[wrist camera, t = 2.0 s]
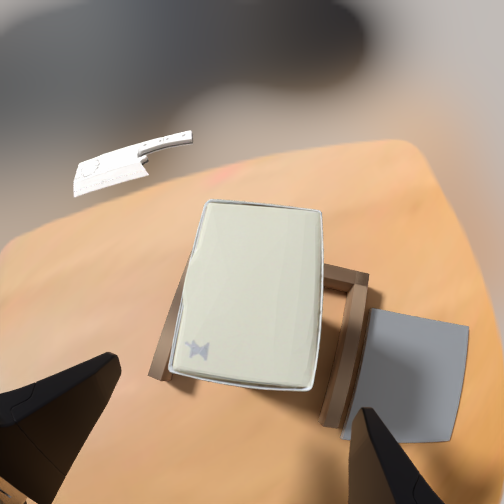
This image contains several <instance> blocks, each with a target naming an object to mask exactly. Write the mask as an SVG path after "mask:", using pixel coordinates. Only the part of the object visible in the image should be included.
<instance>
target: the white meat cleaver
mask: <svg viewBox="0 0 504 504" xmlns="http://www.w3.org/2000/svg"><path fill="white" fill-rule="evenodd" d="M191 144H193V134H192V131H186V132H182V133H178V134H173V135H169V136H165V137H161V138H157V139H154V140H150V141H146V142H143V143H141V144H140V143H139V144H135V145H132V146H128V147H125V148H122V149H119V150H115V151H113V152H110V153H107V154H104V155H101V156H98V157H95V158H93V159H90V160H87V161H84V162H82V163H79V165H78V169H77V172H76V176H75V179H74V197H77V196H80V195H83V194H86V193H89V192H93V191H95V190H99V189H102V188H106V187H109V186H112V185H116V184H119V183H122V182H126V181H130V180H133V179H137V178H141V177H144V176H148V175H149V174H148V173H147V171H146V170H145V168H144V167H143V165H144V164H145V163H148V162H149V160H148V158H147V156H145V155H147V154H150V153H153V152H156V151H159V150H163V149H166V148H172V147H177V146H183V145H191Z"/></svg>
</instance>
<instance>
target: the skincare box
mask: <svg viewBox="0 0 504 504" xmlns="http://www.w3.org/2000/svg"><path fill="white" fill-rule="evenodd" d="M323 281H324V249H323V225H322V212H321V211H319V210H315V209H306V208H298V207H291V206H283V205H275V204H266V203H254V202H245V201H233V200H219V199H210V200H208V201H207V202H206V203H205V205H204V208H203V212H202V215H201V219H200V223H199V226H198V230H197V234H196V238H195V242H194V246H193V250H192V254H191V257H190V261H189V265H188V269H187V273H186V277H185V282H184V287H183V293H182V298H181V303H180V308H179V312H178V317H177V322H176V327H175V333H174V338H173V343H172V349H171V355H170V360H169V364H168V370H169V371H170V372H172V373H174V374H178V375H182V376H186V377H191V378H195V379H199V380H204V381H209V382H214V383H219V384H225V385H231V386H237V387H244V388H252V389H261V390H273V391H295V392H308V391H310V390H311V389H312V387H313V385H314V379H315V373H316V368H317V360H318V354H319V345H320V337H321V325H322V308H323Z"/></svg>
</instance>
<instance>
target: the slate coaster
mask: <svg viewBox="0 0 504 504" xmlns="http://www.w3.org/2000/svg"><path fill="white" fill-rule="evenodd" d="M468 331H469V326H463V325H458V324H452V323H447V322H441V321H436V320H430V319H425V318H420V317H415V316H410V315H405V314H400V313H395V312H390V311H385V310H380V309H375V308H371V309H370V310H369V315H368V322H367V328H366V334H365V339H364V345H363V350H362V355H361V360H360V364H359V369H358V374H357V378H356V382H355V386H354V390H353V394H352V398H351V402H350V406H349V409H348V413H347V417H346V420H345V423H344V427H343V430H342V433H341V436H340V438H341V439H344V440H351V428H352V422H353V419H354V418H355V416H356V414H357V413H358V411H359V409H360V408H361V407H372V408H373V409H374V410H375V411H376V413H377V414H378V416H379V417H380V418H381V420H382V421H383V422H384V424H385V425H386V427H387V428H388V429H389V431H390V432H391V434H392V435H393V436H394V438H395V439H396V441H397V442H398V443H418V442H439V441H449V440H450V437H451V433H452V430H453V426H454V422H455V418H456V414H457V410H458V405H459V400H460V395H461V390H462V384H463V378H464V371H465V363H466V355H467V344H468Z"/></svg>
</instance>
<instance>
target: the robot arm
mask: <svg viewBox="0 0 504 504" xmlns="http://www.w3.org/2000/svg"><path fill="white" fill-rule="evenodd" d="M120 376H121V366H120V362H119V358H118V356H117V355H116V354H113V353H111V352H106V353H104V354H101V355H99V356H97V357H94V358H92V359H90V360H87V361H85V362H83V363H81V364H78V365H76V366H73V367H71V368H69V369H66V370H64V371H62V372H59V373H57V374H54V375H52V376H50V377H47V378H45V379H42V380H40V381H37V382H36V383H32V384H30V385H27V386H24V387H22V388H19V389H16V390H12V391H9V392H5V393H1V394H0V504H27V502H26V499H27V497H28V498H30V499H31V500H33V501H34V502H36V503H38V504H52V502H53V500H54V498H55V496H56V494H57V492H58V490H59V488H60V487H61V485H62V483H63V481H64V479H65V476H66V475H67V473H68V471H69V470H70V468H71V466H72V464H73V462H74V460H75V459H76V457H77V455H78V453H79V452H80V450H81V448H82V446H83V445H84V443H85V441H86V439H87V438H88V436H89V434H90V432H91V431H92V429H93V427H94V426H95V424H96V422H97V421H98V419H99V417H100V416H101V414H102V412H103V411H104V409H105V407H106V405H107V404H108V401H109V399H110V397H111V395H112V393H113V391H114V388H115V386H116V384H117V382H118V380H119V378H120ZM348 504H445V503H444V502H443V501H442V500H441V499H440V498H439V497H438V496H437V495H436V493H435V492H434V491H433V490H432V489H431V487H430V486H429V485H428V483H427V482H426V481H425V479H424V478H423V477H422V475H421V474H420V473H419V471H418V470H417V468H416V467H415V466H414V464H413V463H412V461H411V460H410V459H409V457H408V456H407V454H406V453H405V452H404V450H403V449H402V447H401V446H400V445H399V443H398V442H397V441H396V439H395V438H394V436H393V435H392V434H391V432H390V431H389V429H388V428H387V427H386V425H385V424H384V422H383V421H382V420H381V418H380V417H379V416H378V414H377V413H376V411H375V410H374V409H373V408H372V407H361V408H360V409H359V411H358V413H357V414H356V416H355V418H354V419H353V422H352V428H351V440H350V451H349V500H348Z"/></svg>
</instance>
